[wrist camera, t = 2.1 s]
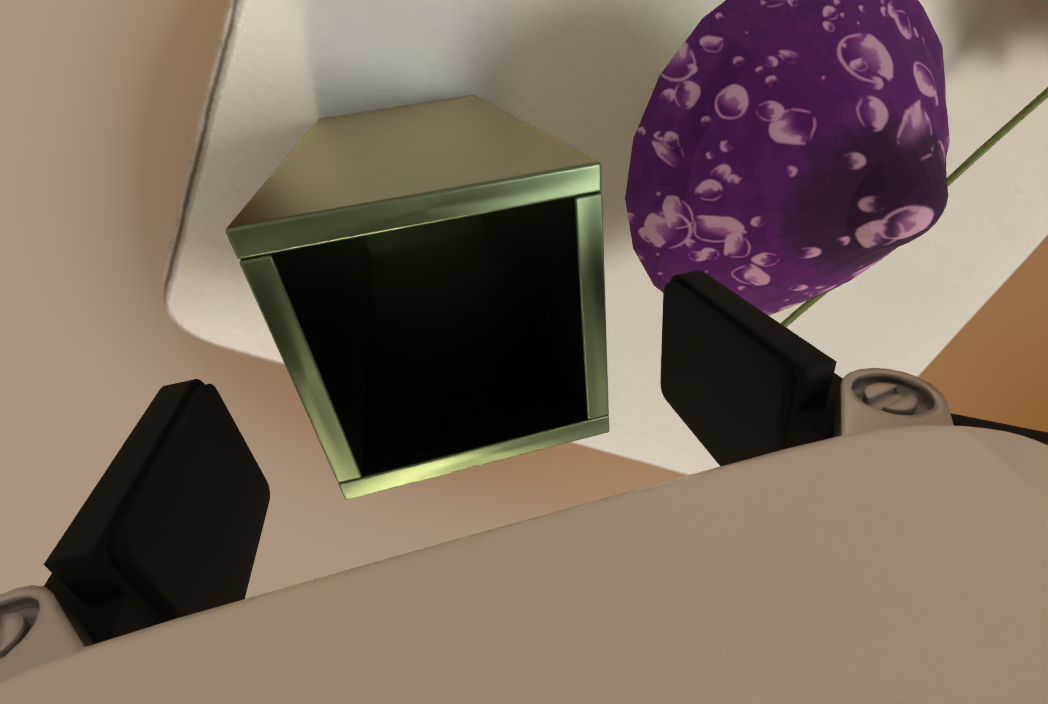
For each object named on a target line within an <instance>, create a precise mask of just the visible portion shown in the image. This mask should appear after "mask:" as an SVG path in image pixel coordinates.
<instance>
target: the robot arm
mask: <svg viewBox="0 0 1048 704" xmlns="http://www.w3.org/2000/svg"><path fill="white" fill-rule="evenodd" d="M835 366H836V361H835V360H833V359H832V358H830V357H829V356H827V355H826V354H824V353H823V352H821V351H820V350H818V349H817V348H815V347H814V346H812V345H811V344H809V343H808V342H807V341H805V340H804V339H802V338H801V337H799V336H798V335H796V334H795V333H793V332H792V331H790V330H789V329H787V328H786V327H784V326H783V325H781V324H780V323H778V322H777V321H775V320H774V319H773V318H771V317H770V316H768V315H767V314H765V313H764V312H762V311H761V310H759V309H758V308H756V307H755V306H753V305H752V304H750V303H749V302H747V301H746V300H744V299H743V298H742V297H740V296H739V295H737V294H736V293H734V292H733V291H731V290H730V289H728V288H727V287H725V286H724V285H722V284H721V283H719V282H718V281H716V280H715V279H713V278H712V277H710V276H709V275H708V274H706V273H705V272H703V271H701V270H696V271H692V272H687V273H682V274H678V275H674V276H673V277H672V278H671V281H670V283H667V284H666V285H665V287H664V293H663V324H662V355H661V390H662V393H663V396H664V398H665V399H666V401H667V402H668V403H669V404H670V405H671V407H672V408H673V409H674V410H675V412H676V413H677V414H678V415H679V416H680V418H681V419H682V420H683V421H684V422H685V424H686V425H687V426H688V427H689V429H690V430H691V431H692V432H693V433H694V435H695V436H696V437H697V438H698V440H699V441H700V442H701V443H702V444H703V446H704V447H705V448H706V449H707V450H708V452H709V453H710V454H711V455H712V457H713V458H714V459H715V460H716V461H717V463H718V464H719V465H720V466H721V467H717V468H714V469H710V470H706V471H703V472H699V473H695V474H692V475H688V476H684V477H681V478H677V479H674V480H670V481H666V482H663V483H659V484H655V485H651V486H648V487H644V488H640V489H637V490H633V491H630V492H626V493H622V494H619V495H615V496H611V497H608V498H604V499H600V500H597V501H593V502H590V503H586V504H582V505H579V506H575V507H571V508H568V509H564V510H560V511H557V512H553V513H550V514H546V515H543V516H539V517H536V518H532V519H528V520H524V521H521V522H517V523H514V524H510V525H506V526H503V527H499V528H496V529H492V530H488V531H485V532H482V533H478V534H474V535H471V536H467V537H464V538H460V539H456V540H453V541H449V542H445V543H442V544H438V545H435V546H431V547H428V548H424V549H420V550H417V551H414V552H410V553H406V554H403V555H399V556H396V557H392V558H388V559H385V560H382V561H378V562H374V563H371V564H367V565H364V566H360V567H357V568H353V569H350V570H346V571H343V572H339V573H336V574H332V575H329V576H325V577H322V578H318V579H314V580H311V581H307V582H304V583H300V584H297V585H293V586H290V587H286V588H283V589H279V590H276V591H272V592H268V593H265V594H262V595H258V596H255V597H251V598H248V599H245V595H246V591H247V587H248V583H249V580H250V576H251V571H252V567H253V564H254V560H255V556H256V552H257V548H258V544H259V540H260V536H261V532H262V528H263V524H264V520H265V516H266V512H267V508H268V504H269V500H270V490H269V485H268V483H267V480H266V479H265V477H264V475H263V473H262V471H261V469H260V468H259V466H258V464H257V462H256V460H255V459H254V457H253V455H252V453H251V451H250V449H249V447H248V446H247V444H246V442H245V440H244V438H243V436H242V435H241V433H240V431H239V429H238V427H237V425H236V424H235V422H234V420H233V418H232V416H231V414H230V413H229V411H228V409H227V407H226V405H225V404H224V402H223V400H222V398H221V396H220V395H219V393H218V391H217V389H216V388H215V387H214V386H213V385H212V384H206V385H205V384H204V383H203V382H202V381H201V380H198V379H194V380H190V381H185V382H180V383H176V384H171V385H167V386H163V387H162V388H161V389H160V390H159V392H158V393H157V395H156V396H155V398H154V399H153V401H152V402H151V404H150V405H149V407H148V408H147V410H146V411H145V413H144V415H143V416H142V417H141V419H140V420H139V422H138V423H137V425H136V426H135V428H134V429H133V431H132V432H131V434H130V435H129V437H128V438H127V440H126V441H125V443H124V444H123V446H122V448H121V449H120V450H119V452H118V454H117V455H116V456H115V458H114V460H113V461H112V462H111V464H110V466H109V467H108V469H107V470H106V472H105V473H104V475H103V476H102V478H101V479H100V481H99V482H98V484H97V485H96V487H95V488H94V490H93V491H92V493H91V494H90V496H89V497H88V499H87V500H86V502H85V503H84V505H83V506H82V508H81V509H80V511H79V512H78V514H77V515H76V517H75V518H74V520H73V521H72V523H71V525H70V526H69V527H68V529H67V530H66V532H65V533H64V535H63V536H62V538H61V540H60V541H59V542H58V544H57V545H56V547H55V548H54V550H53V551H52V553H51V554H50V556H49V557H48V559H47V560H46V562H45V563H44V565H45V566H46V567H47V568H48V569H49V570H50V571H51V572H52V574H51V576H50V577H49V579H48V580H47V582H46V584H45V585H44V587H43V586H32V585H31V586H27V587H21V588H16V589H14V590H11V591H8V592H6V593H3V594H1V595H0V704H1048V433H1047V432H1042V431H1036V430H1032V429H1027V428H1021V427H1017V426H1011V425H1007V424H1002V423H997V422H992V421H987V420H982V419H977V418H971V417H967V416H961V415H957V414H951V413H950V411H949V407H948V404H947V401H946V399H945V397H944V396H943V394H942V393H941V392H940V391H939V390H938V389H937V388H936V387H934V386H933V385H932V384H930V383H928V382H926V381H924V380H923V379H920V378H919V377H916V376H913V375H910V374H907V373H905V372H900V371H895V370H891V369H880V368H868V369H859V370H856V371H853V372H850V373H849V374H847V375H846V376H845V377H844V378H843V379H842V378H841V377H839V376H838V375H837V374H835V373H834V370H835Z"/></svg>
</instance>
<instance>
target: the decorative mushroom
mask: <svg viewBox="0 0 1048 704" xmlns="http://www.w3.org/2000/svg"><path fill="white" fill-rule="evenodd" d="M945 100H946V88H945V75H944V63H943V50H942V44H941V42H940V40H939V38H938V36H937V34H936V32H935V30H934V28H933V26H932V24H931V22H930V20H929V18H928V16H927V14H926V12H925V10H924V8H923V6H922V5H921V4H920V2H919V1H918V0H726V1H724V2H723V3H722V4H721V5H719V6H718V7H717V8H715V9H714V10H713V11H711V12H710V13H709V14H708V15H706V16H705V17H704V18H703V19H702V20H701V21H700V23H699V24H698V25H697V27H696V28H695V29H694V31H693V32H692V33H691V35H690V36H689V37H688V39H687V40H686V41H685V43H684V44H683V45H682V47H681V48H680V49H679V51H678V52H677V53H676V55H675V56H674V57H673V59H672V60H671V61H670V63H669V64H668V65H667V67H666V68H665V69H664V71H663V72H662V73H661V75H660V76H659V78H658V81H657V83H656V86H655V88H654V90H653V93H652V95H651V98H650V100H649V102H648V105H647V107H646V110H645V112H644V114H643V117H642V119H641V122H640V124H639V126H638V129H637V131H636V134H635V136H634V138H633V145H632V152H631V160H630V167H629V174H628V182H627V189H626V196H625V200H626V206H627V212H628V219H629V225H630V231H631V237H632V244H633V249H634V250H635V252H636V254H637V256H638V258H639V259H640V261H641V263H642V265H643V267H644V268H645V270H646V272H647V274H648V275H649V277H650V279H651V281H652V283H653V284H654V286H655V287H657V288H658V289H659V290H661V291H662V292H663V293H664V287H665V285H666V284H667V283H670V281H671V278H672V277H673V276H674V275H678V274H682V273H687V272H692V271H696V270H701V271H703V272H705V273H706V274H708V275H709V276H710V277H712V278H713V279H715V280H716V281H718V282H719V283H721V284H722V285H724V286H725V287H727V288H728V289H730V290H731V291H733V292H734V293H736V294H737V295H739V296H740V297H742V298H743V299H744V300H746V301H747V302H749V303H750V304H752V305H753V306H755V307H756V308H758V309H759V310H761V311H762V312H764V313H765V314H767V315H771V314H774V313H776V312H779V311H781V310H784V309H786V308H789V307H791V306H794V305H796V304H799V303H801V302H804V301H806V300H809V299H811V298H814V297H816V296H819V295H821V294H824V293H826V292H829V291H831V290H832V289H834V288H836V287H838V286H840V285H842V284H844V283H846V282H848V281H850V280H851V279H853V278H854V277H856V276H858V275H859V274H861V273H862V272H864V271H865V270H867V269H868V268H869V267H871V266H872V265H874V264H875V263H877V262H878V261H880V260H881V259H883V258H884V257H885V256H887V255H888V254H889V253H891V252H892V251H893V250H895V249H896V248H897V247H899V246H901V245H904V244H906V243H909V242H910V241H912V240H914V239H916V238H917V237H919V236H921V235H922V234H924V233H925V232H927V231H928V230H929V229H930V228H931V227H932V226H933V225H934V224H935V223H936V222H937V221H938V219H939V218H940V216H941V215H942V213H943V211H944V209H945V207H946V204H947V199H948V188H947V178H946V156H947V151H948V147H949V142H950V141H949V129H948V116H947V108H946V101H945Z"/></svg>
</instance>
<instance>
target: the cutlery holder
mask: <svg viewBox="0 0 1048 704" xmlns="http://www.w3.org/2000/svg"><path fill="white" fill-rule="evenodd" d="M600 191H601V164H600V162H598V161H596V160H595V159H593V158H591V157H589V156H587V155H585V154H583V153H581V152H579V151H578V150H576V149H574V148H572V147H570V146H568V145H566V144H564V143H563V142H561V141H559V140H557V139H555V138H553V137H551V136H549V135H547V134H546V133H544V132H542V131H540V130H538V129H536V128H534V127H532V126H531V125H529V124H527V123H525V122H523V121H521V120H519V119H517V118H515V117H514V116H512V115H510V114H508V113H506V112H504V111H502V110H500V109H499V108H497V107H495V106H493V105H491V104H489V103H487V102H485V101H483V100H482V99H480V98H478V97H476V96H473V95H472V96H466V97H459V98H453V99H446V100H440V101H433V102H427V103H420V104H414V105H407V106H401V107H394V108H388V109H381V110H375V111H368V112H362V113H355V114H349V115H342V116H336V117H329V118H323V119H319V120H318V121H317V122H316V123H315V124H314V125H313V127H312V128H311V129H310V130H309V131H308V133H307V134H306V135H305V136H304V137H303V138H302V140H301V141H300V142H299V143H298V144H297V146H296V147H295V148H294V149H293V150H292V151H291V153H290V154H289V155H288V156H287V157H286V159H285V160H284V161H283V162H282V163H281V164H280V166H279V167H278V168H277V169H276V170H275V172H274V173H273V174H272V175H271V176H270V177H269V179H268V180H267V181H266V182H265V183H264V185H263V186H262V187H261V188H260V189H259V190H258V192H257V193H256V194H255V195H254V196H253V198H252V199H251V200H250V201H249V202H248V203H247V205H246V206H245V207H244V208H243V209H242V211H241V212H240V213H239V214H238V215H237V216H236V218H235V219H234V220H233V221H232V222H231V224H230V225H229V226H228V227H227V228H226V234H227V236H228V238H229V241H230V243H231V245H232V247H233V249H234V252H235V254H236V256H237V257H238V259H241V260H240V265H241V267H242V270H243V272H244V274H245V276H246V279H247V281H248V283H249V285H250V288H251V290H252V292H253V294H254V296H255V299H256V301H257V303H258V305H259V308H260V310H261V312H262V314H263V317H264V319H265V321H266V323H267V325H268V328H269V330H270V332H271V334H272V337H273V339H274V341H275V343H276V346H277V348H278V350H279V352H280V354H281V357H282V359H283V361H284V363H285V366H286V367H287V370H288V372H289V375H290V377H291V379H292V381H293V383H294V386H295V388H296V390H297V392H298V394H299V397H300V399H301V401H302V403H303V406H304V408H305V410H306V412H307V415H308V417H309V419H310V421H311V423H312V426H313V428H314V430H315V432H316V434H317V437H318V439H319V441H320V444H321V446H322V448H323V450H324V453H325V455H326V457H327V459H328V461H329V464H330V466H331V468H332V470H333V473H334V475H335V477H336V479H337V481H338V482H339V487H340V489H341V491H342V493H343V495H344V498H345V499H346V500H348V499H352V498H355V497H359V496H363V495H367V494H371V493H375V492H379V491H382V490H386V489H390V488H394V487H398V486H402V485H405V484H410V483H413V482H417V481H421V480H425V479H429V478H433V477H436V476H441V475H444V474H448V473H452V472H455V471H460V470H464V469H468V468H471V467H475V466H479V465H483V464H487V463H490V462H494V461H499V460H502V459H506V458H510V457H514V456H517V455H522V454H525V453H529V452H533V451H537V450H541V449H545V448H549V447H552V446H556V445H560V444H564V443H568V442H572V441H576V440H580V439H584V438H587V437H591V436H595V435H599V434H603V433H607V432H609V415H608V414H609V409H608V377H607V344H606V312H605V279H604V247H603V214H602V194H601V193H600Z"/></svg>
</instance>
